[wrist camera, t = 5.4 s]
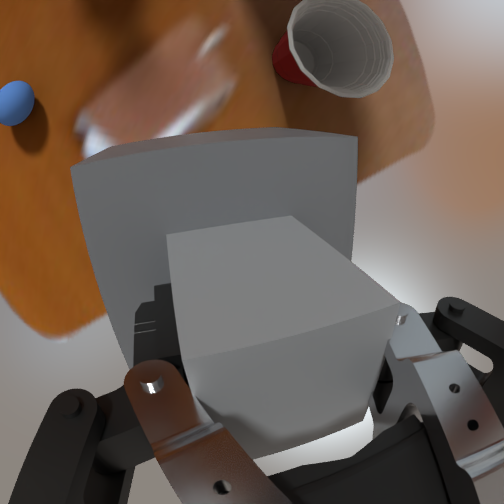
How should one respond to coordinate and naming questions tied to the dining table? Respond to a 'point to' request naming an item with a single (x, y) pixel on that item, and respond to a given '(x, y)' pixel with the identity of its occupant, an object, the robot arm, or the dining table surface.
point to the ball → (15, 102)
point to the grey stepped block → (244, 273)
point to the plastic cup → (335, 48)
